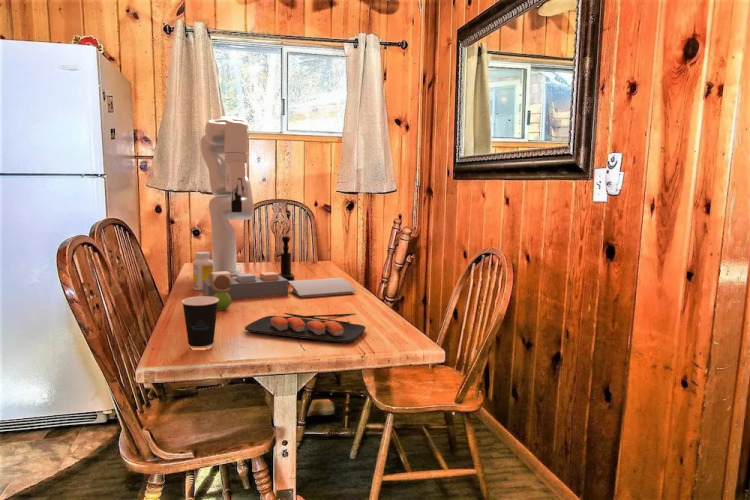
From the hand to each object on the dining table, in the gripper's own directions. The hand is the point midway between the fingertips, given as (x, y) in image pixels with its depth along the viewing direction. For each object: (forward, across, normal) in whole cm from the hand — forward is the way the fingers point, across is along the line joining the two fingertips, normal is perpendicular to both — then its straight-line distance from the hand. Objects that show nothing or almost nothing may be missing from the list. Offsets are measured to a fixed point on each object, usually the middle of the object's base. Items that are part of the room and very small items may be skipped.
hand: (236, 212), depth 176 cm
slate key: (+24, +12, 0) cm, 27 cm away
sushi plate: (+28, +55, +8) cm, 62 cm away
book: (+28, +17, +25) cm, 41 cm away
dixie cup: (+27, +62, -23) cm, 72 cm away
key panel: (+27, +12, 0) cm, 30 cm away
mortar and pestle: (+27, -6, +20) cm, 34 cm away
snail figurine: (+27, +29, -12) cm, 42 cm away
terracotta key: (+24, +12, +8) cm, 28 cm away
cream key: (+23, +12, -8) cm, 27 cm away
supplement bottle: (+27, -3, -11) cm, 30 cm away
